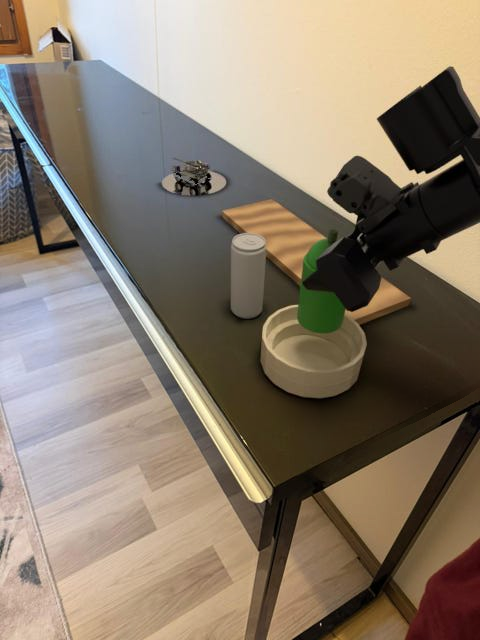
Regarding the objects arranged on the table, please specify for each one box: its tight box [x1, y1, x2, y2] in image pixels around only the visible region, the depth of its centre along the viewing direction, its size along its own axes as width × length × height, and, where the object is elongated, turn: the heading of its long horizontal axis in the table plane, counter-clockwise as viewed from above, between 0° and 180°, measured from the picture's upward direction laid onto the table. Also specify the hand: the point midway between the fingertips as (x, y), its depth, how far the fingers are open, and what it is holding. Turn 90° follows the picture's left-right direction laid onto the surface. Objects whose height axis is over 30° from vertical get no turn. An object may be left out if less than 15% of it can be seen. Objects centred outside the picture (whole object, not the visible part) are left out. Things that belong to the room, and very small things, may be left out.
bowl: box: [260, 304, 368, 399], centre depth 59 cm, size 13×13×5 cm
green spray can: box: [297, 228, 345, 333], centre depth 54 cm, size 6×6×12 cm
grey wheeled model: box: [161, 156, 227, 196], centre depth 105 cm, size 15×15×5 cm
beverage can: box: [230, 233, 267, 320], centre depth 65 cm, size 5×5×12 cm
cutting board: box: [221, 198, 411, 326], centre depth 81 cm, size 40×12×2 cm, turn 29°
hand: (315, 273), depth 54 cm, fingers closed on green spray can, 6 cm apart
